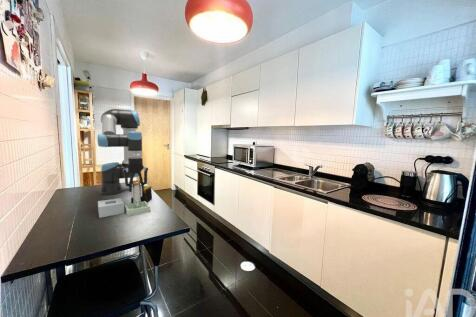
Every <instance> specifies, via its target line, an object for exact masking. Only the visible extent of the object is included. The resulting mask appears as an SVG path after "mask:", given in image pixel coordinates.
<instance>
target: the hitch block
mask: <svg viewBox="0 0 476 317" xmlns="http://www.w3.org/2000/svg"><path fill="white" fill-rule="evenodd" d="M124 205H125V203H124V201H123V200H122V198H121V197H119V198H112V199H111V198H110V199H105V200H104V199H103V200H98V201H97V211H98V218H99V219H100V218H106V217H112V216H117V215H123V214H125V208H124Z"/></svg>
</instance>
